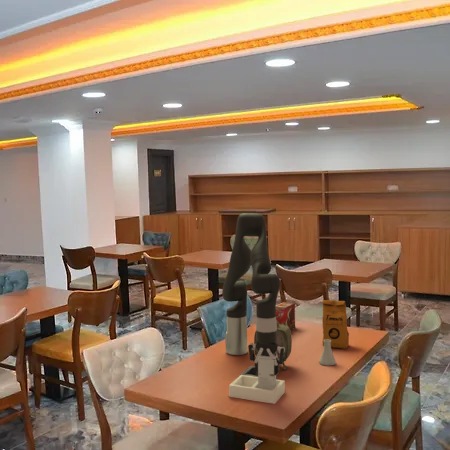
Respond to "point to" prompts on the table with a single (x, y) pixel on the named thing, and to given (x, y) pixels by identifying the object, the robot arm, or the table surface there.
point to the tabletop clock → (281, 340)
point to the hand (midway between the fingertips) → (267, 373)
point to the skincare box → (266, 373)
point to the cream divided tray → (255, 390)
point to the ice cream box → (286, 314)
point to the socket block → (250, 372)
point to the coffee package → (335, 323)
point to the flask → (327, 354)
